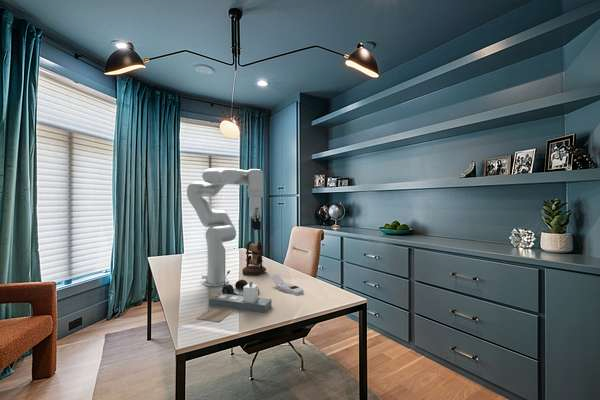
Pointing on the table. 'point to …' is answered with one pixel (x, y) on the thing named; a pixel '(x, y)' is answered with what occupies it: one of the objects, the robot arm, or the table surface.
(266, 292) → the table surface
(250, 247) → the brown lantern
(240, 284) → the headset
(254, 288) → the charger
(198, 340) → the table surface
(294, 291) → the light grey elongated piece
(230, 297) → the power strip
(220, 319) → the coaster
